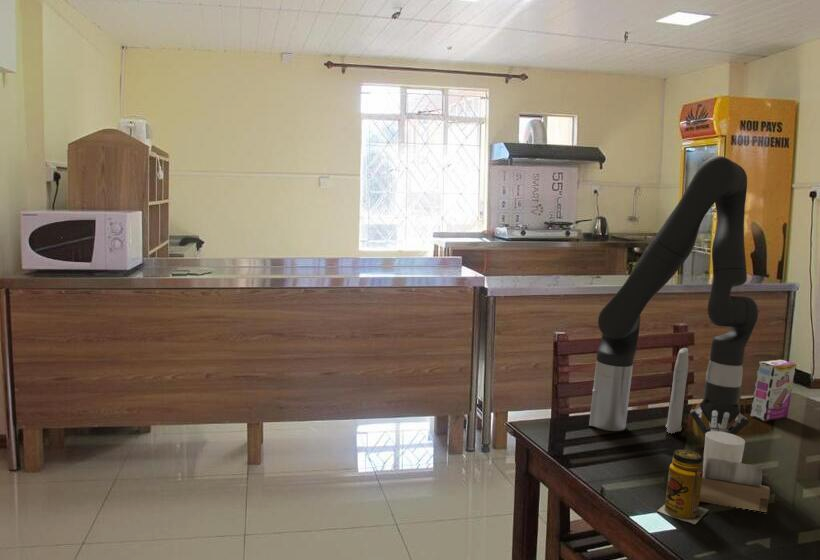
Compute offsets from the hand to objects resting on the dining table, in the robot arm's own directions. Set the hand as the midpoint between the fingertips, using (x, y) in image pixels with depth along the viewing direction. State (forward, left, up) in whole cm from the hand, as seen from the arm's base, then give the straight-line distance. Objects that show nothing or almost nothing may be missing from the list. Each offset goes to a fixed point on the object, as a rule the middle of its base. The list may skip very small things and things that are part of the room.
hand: (713, 452), depth 162 cm
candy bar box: (+21, +45, -2) cm, 49 cm away
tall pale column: (-7, +20, -2) cm, 21 cm away
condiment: (-9, -31, -2) cm, 33 cm away
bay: (0, -17, -2) cm, 17 cm away
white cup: (0, -12, -2) cm, 12 cm away
